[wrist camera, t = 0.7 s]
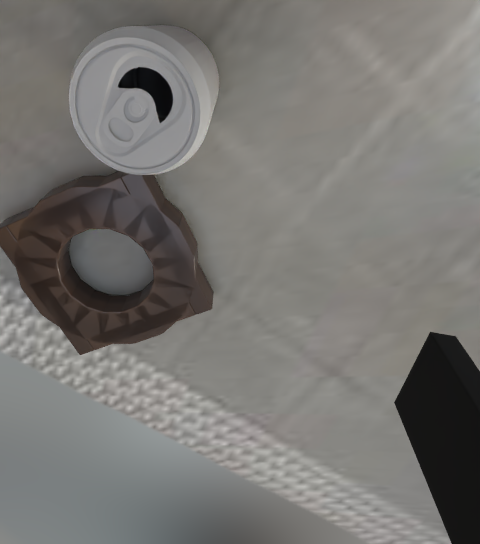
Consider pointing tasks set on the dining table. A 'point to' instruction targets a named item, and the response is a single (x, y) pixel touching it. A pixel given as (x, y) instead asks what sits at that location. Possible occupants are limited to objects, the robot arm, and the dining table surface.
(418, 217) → the dining table surface
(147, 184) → the socket pad
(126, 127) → the beverage can
